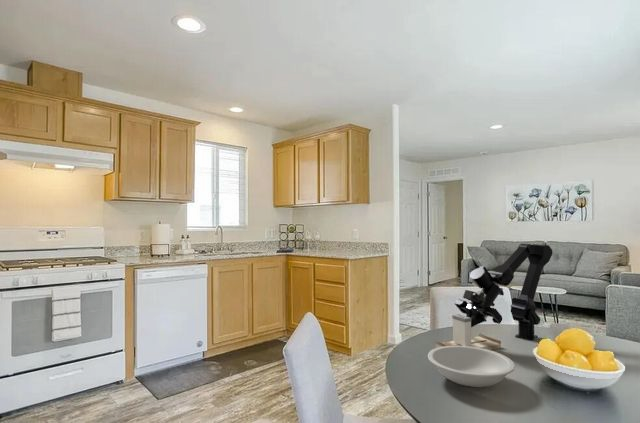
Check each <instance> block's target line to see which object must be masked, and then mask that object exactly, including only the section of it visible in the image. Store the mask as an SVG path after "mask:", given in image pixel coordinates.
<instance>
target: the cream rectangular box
mask: <svg viewBox="0 0 640 423" xmlns="http://www.w3.org/2000/svg"><path fill="white" fill-rule="evenodd" d="M466 316H467V315H462V314H460V313H459V314H452V341H453V342H455V343H457V344H460V345H462V346H471V338H472V327H471V318H469V317H466Z"/></svg>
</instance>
